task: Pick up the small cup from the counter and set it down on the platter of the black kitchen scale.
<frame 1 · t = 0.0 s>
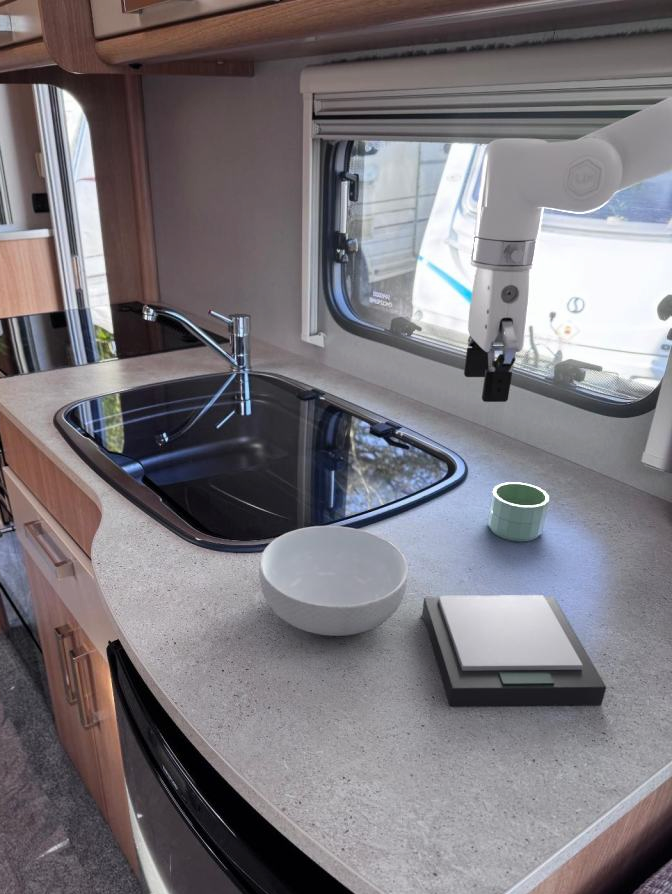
hand: (484, 388, 96), 19 cm above the worktop, tool pointing down, fingers open, 9 cm apart
scale: (504, 656, 77), on the worktop
cereal bowl: (331, 613, 84), on the worktop
small cup: (514, 529, 101), on the worktop
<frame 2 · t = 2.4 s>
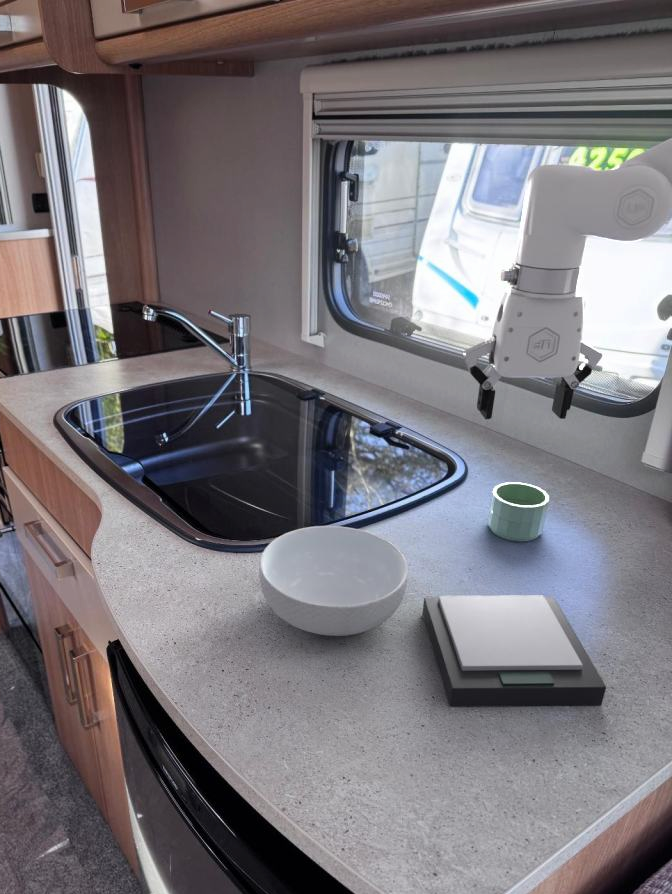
hand: (521, 415, 94), 17 cm above the worktop, tool pointing down, fingers open, 9 cm apart
nothing on the worktop moved.
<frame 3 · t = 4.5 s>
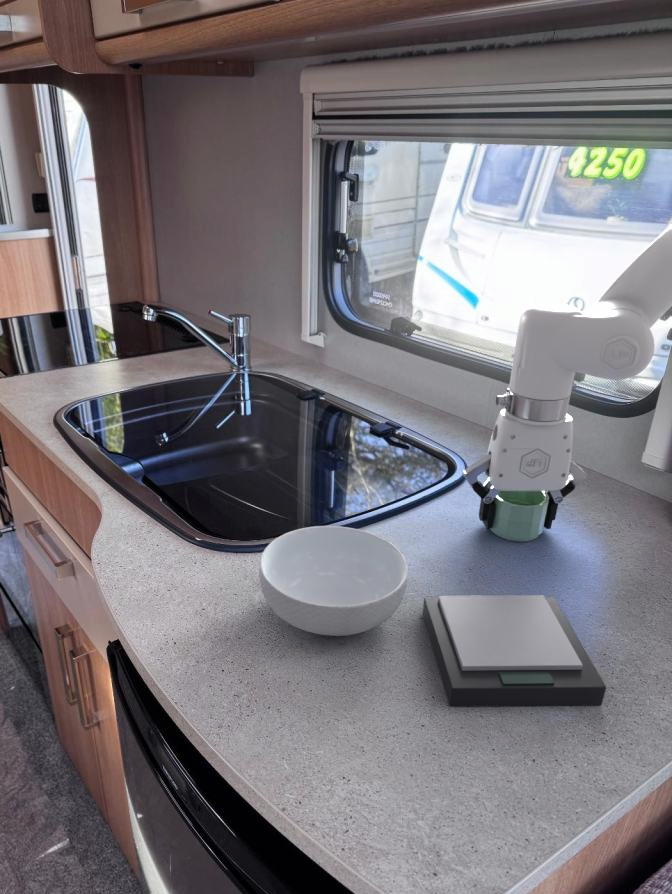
hand: (515, 523, 101), 1 cm above the worktop, tool pointing down, fingers closed on small cup, 7 cm apart
small cup: (514, 529, 101), on the worktop, touching gripper
everything else where it was.
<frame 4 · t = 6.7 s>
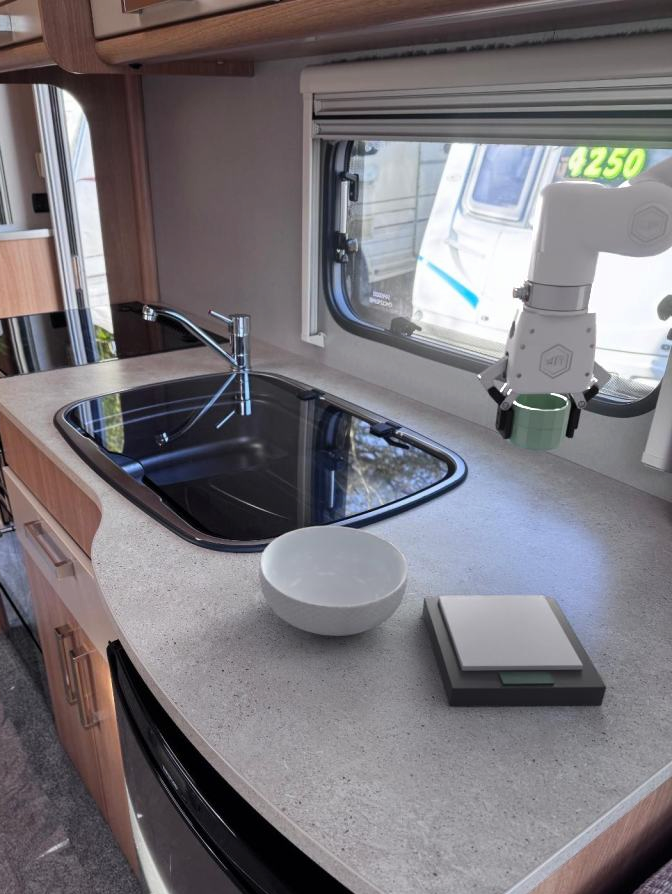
hand: (534, 434, 94), 14 cm above the worktop, tool pointing down, fingers closed on small cup, 7 cm apart
small cup: (533, 440, 94), point 14 cm above the worktop, touching gripper
everything else where it was.
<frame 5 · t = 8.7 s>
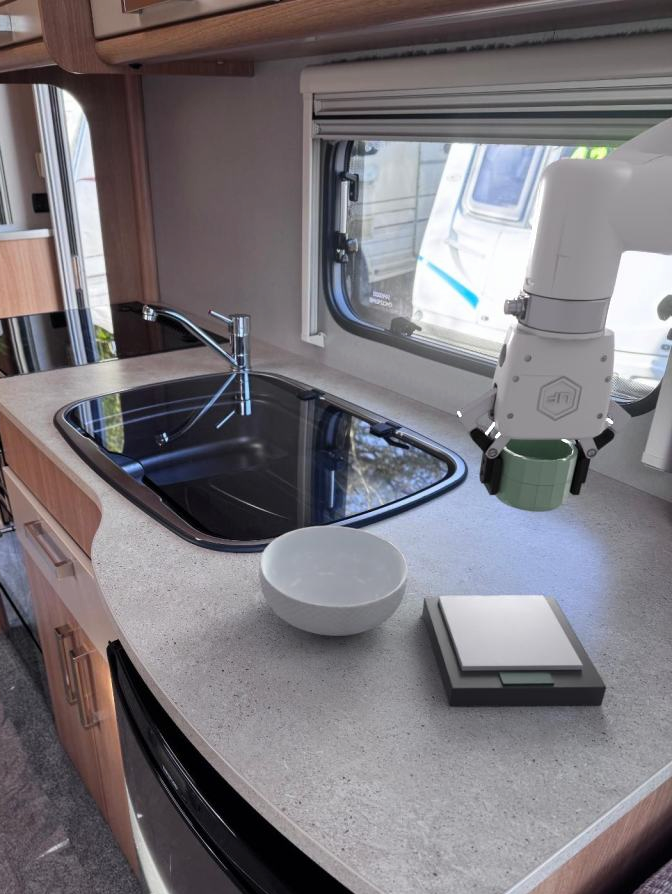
hand: (530, 488, 73), 18 cm above the worktop, tool pointing down, fingers closed on small cup, 7 cm apart
small cup: (528, 495, 73), point 17 cm above the worktop, touching gripper
everything else where it was.
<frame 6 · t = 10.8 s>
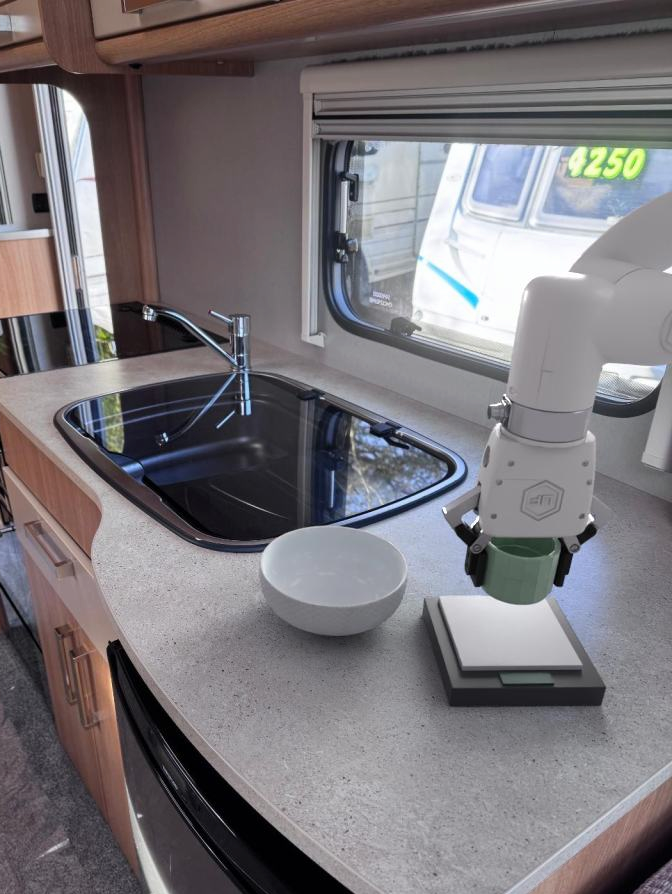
hand: (514, 578, 74), 9 cm above the worktop, tool pointing down, fingers closed on small cup, 7 cm apart
small cup: (512, 585, 74), point 8 cm above the worktop, touching gripper
everything else where it was.
when the fingers open (4 cm above the worktop, at t = 12.7 s): small cup stays where it is, resting on scale.
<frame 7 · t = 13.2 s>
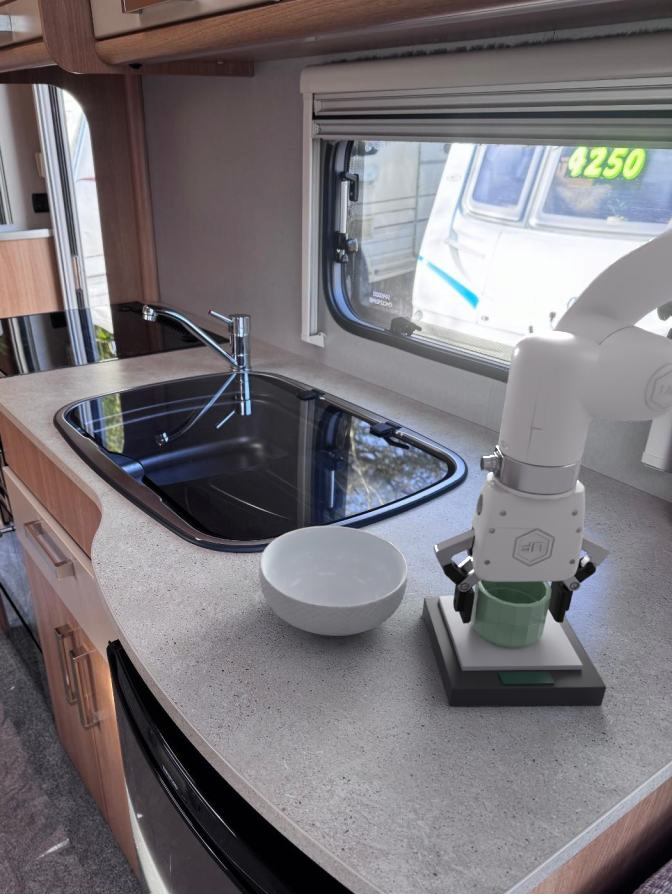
hand: (508, 615, 76), 5 cm above the worktop, tool pointing down, fingers open, 9 cm apart
small cup: (505, 627, 77), point 3 cm above the worktop, touching scale
everything else where it was.
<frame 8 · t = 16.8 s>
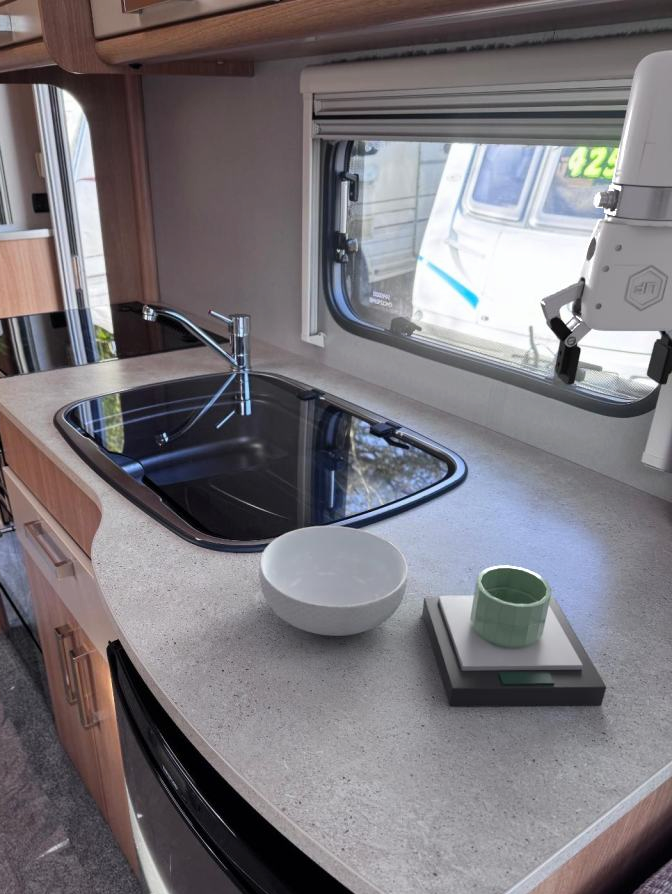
hand: (610, 380, 76), 26 cm above the worktop, tool pointing down, fingers open, 9 cm apart
nothing on the worktop moved.
at the end: small cup inside the target area on the scale (0.0 cm from its centre), point 3.0 cm above the scale's base; small cup tilted 0°; the gripper is holding nothing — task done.
